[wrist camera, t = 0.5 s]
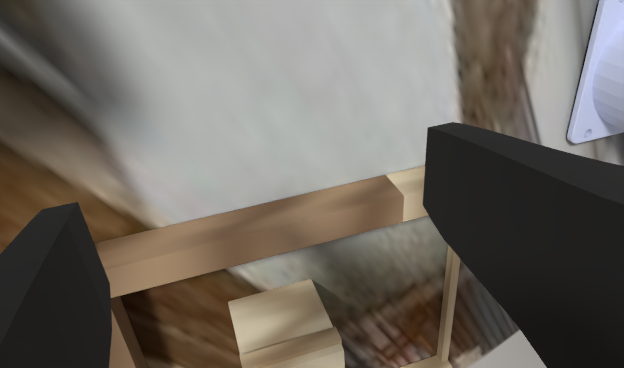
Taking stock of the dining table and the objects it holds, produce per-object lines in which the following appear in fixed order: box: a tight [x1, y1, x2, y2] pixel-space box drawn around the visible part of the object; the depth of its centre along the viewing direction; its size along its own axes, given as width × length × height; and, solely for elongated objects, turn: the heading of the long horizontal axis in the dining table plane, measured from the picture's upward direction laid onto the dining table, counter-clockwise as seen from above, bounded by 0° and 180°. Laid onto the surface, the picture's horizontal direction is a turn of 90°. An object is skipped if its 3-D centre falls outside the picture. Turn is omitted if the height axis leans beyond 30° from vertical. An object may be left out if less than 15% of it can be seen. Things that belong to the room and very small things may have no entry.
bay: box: [94, 166, 460, 368], centre depth 27 cm, size 20×17×2 cm
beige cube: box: [228, 279, 345, 368], centre depth 25 cm, size 5×6×5 cm
